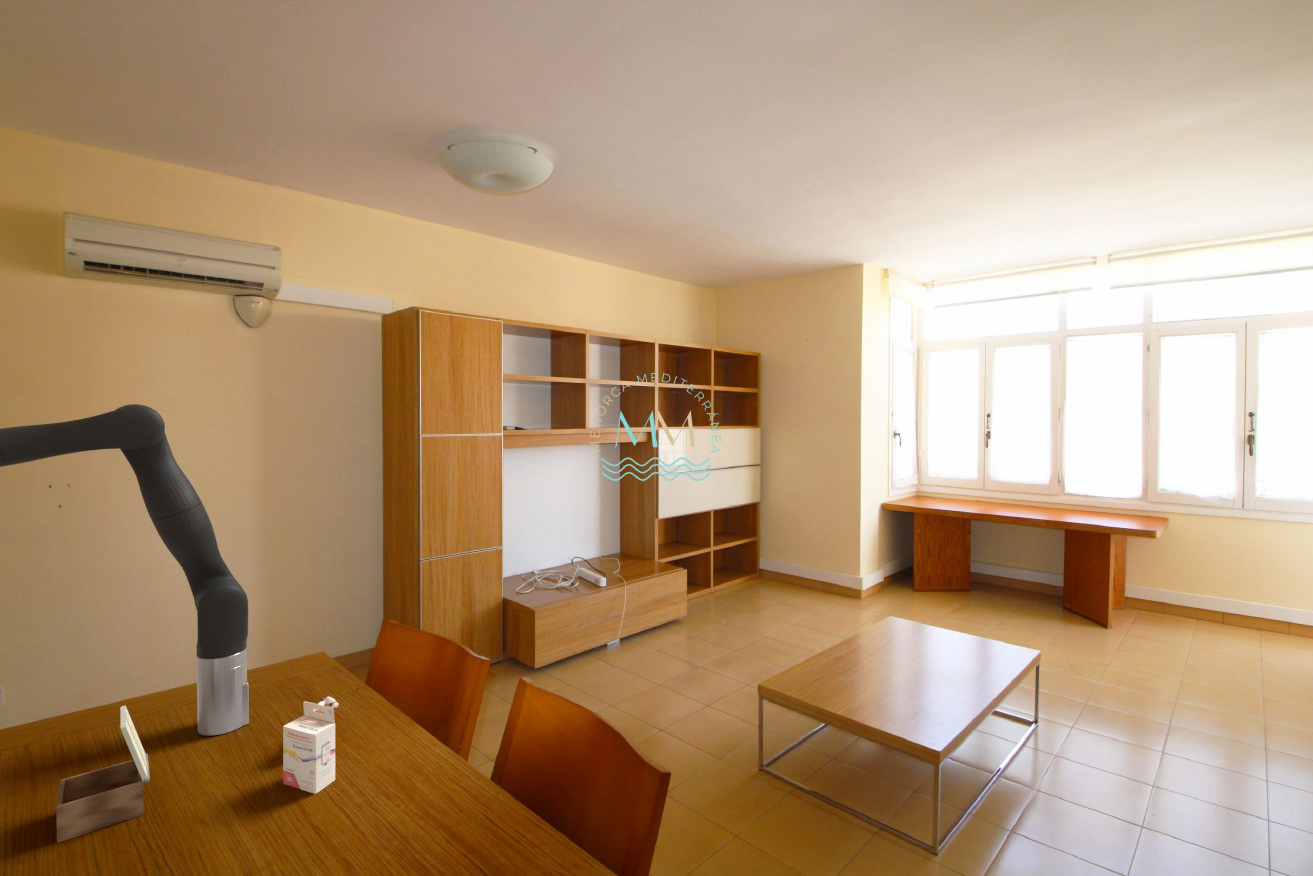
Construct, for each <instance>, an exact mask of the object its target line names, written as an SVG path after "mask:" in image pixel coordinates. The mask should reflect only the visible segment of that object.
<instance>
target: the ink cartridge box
mask: <svg viewBox="0 0 1313 876" xmlns="http://www.w3.org/2000/svg"><path fill="white" fill-rule="evenodd" d="M302 702H303V706H302V707H303V715H302V716H299V717H298V718H296V719H294V720H292V721H289V722H287V724H284V725H283V726H282V727H283V728H282V733H283V734H282V735H283V737H282V745H283V747H282V751H283V753H282V754H283V756H282V757H283V758H282V762H283V763H282V765H283V766H282V767H283V769H282V770H283V771H282V774H283V775H282V777H283V778H282V781H283V782H282V784H283V785H286V786H288V787H291V788H295V789H298V790H301V791H304V792H308V793H311V794H314V795H315V794H318V793H319V792H321V791H322V790H323V789H324V788H326V787H328V786H330V784H331V783H333V782H335V781H336V722H335V710H334V708H330V707H326V706H323V705H319V704H318V703H315V702H309V701H306V700H305V701H302ZM313 709H319V710H320V711H323V712H324V714H321V713H317V712H314V710H313Z"/></svg>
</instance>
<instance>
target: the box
mask: <svg viewBox="0 0 1313 876" xmlns="http://www.w3.org/2000/svg"><path fill="white" fill-rule="evenodd" d="M58 788H59V789H58V793H57V801H56V806H55V811H56V812H55V813H56V816H55V817H56V843H57V844H58V843H61V842H64V841H67V840H71V839H73V838H77V837H80V836H83V835H87V834H89V833H92V832H96V831H98V830H102V829H104V828H108V827H111V826H114V825H117V824H120V823H122V822H127V821H129V820H132V819H133V820H134V819H136V818H139V817H142V816H144V811H145V810H144V782H143V781H142V778H141V776H140V774H139V771H138V769H137V766H136V764H135V762H134V759H132V760H126V761H124V762H120V763H117V764H113V765H109V766H104V767H102V768H98V769H95V770H94V769H93V770H90V771H88V772H84V773H80V774H76V775H73V776H69V777H66V778H62V779H60V781H59V787H58Z"/></svg>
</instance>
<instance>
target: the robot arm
mask: <svg viewBox="0 0 1313 876" xmlns="http://www.w3.org/2000/svg"><path fill="white" fill-rule="evenodd" d="M165 424H166V423H165V420H164V418H163V417H162V416H161V414H160V413H159V412H158V411H157V410H155V409H153V408H152V407H150V406H147V405H145V404H139V403H133V404H132V403H130V404H126V405H122V406H120V407H118V408H116V409H114V410H112V411H108V412H104V413H100V414H97V415H96V414H95V415H93V416H89V417H84V418H80V419H74V420H69V421H68V420H67V421H62V422H52V423H40V424H30V425H28V424H27V425H22V426H21V425H20V426H19V425H18V426H12V427H11V426H10V427H9V426H8V427H3V428H0V468H3V467H7V466H13V465H14V466H15V465H19V464H24V463H30V462H35V461H38V460H44V459H48V458H53V457H58V456H63V455H67V454H69V455H70V454H75V453H83V452H88V451H89V452H90V451H99V450H114V449H115V450H117V449H119V450H120V451H121V452H122V454H123V455H124V457H125V459H126V460H127V462H128V463H129V465H130V468H131V469H132V470H133V472H134V474H135V477H136V480H137V483H138V487H139V490H140V493H141V496H142V500H143V503H144V505H145V508H146V511H147V513H148V516H149V518H150V520H151V522H152V525H154V528H155V530H156V532H157V534H158V536H159V538H160V539H161V541H162V543H163V544H164V545H165V546H166V549H167V550H168V551H169V552H170V554H171V556H173V558H174V559H175V560H176V562H177V563H178V565H179V566H180V567H181V569H182V570H183V573H184V574H185V577H186V580H187V583H188V585H189V588H190V591H191V594H192V597H193V602H194V605H195V609H196V611H197V612H196V616H197V639H196V640H197V642H196V695H197V696H196V699H197V701H196V702H197V704H196V705H197V709H196V711H197V713H196V714H197V715H196V716H197V720H196V722H197V723H196V725H197V733H198V734H199V735H202V736H208V737H209V736H210V737H211V736H218V735H224V734H226V733H230V732H233V731H236V730H238V729H239V728H241V727H243V726H246V725H249V724H250V709H249V707H250V705H249V704H250V703H249V700H250V699H249V697H250V696H249V695H250V694H249V692H250V691H249V687H250V684H249V682H248V678H247V677H248V672H247V671H248V670H247V669H248V668H247V667H248V665H247V658H248V657H247V656H248V655H247V654H248V653H247V640H248V637H249V599H248V595H247V592H246V590H244V589H243V587H242V585H241V583H239V582H238V580H236V578H235V576H234V575H233V574H232V572H231V571H230V568H229V567H228V566H227V563H226V562H225V560H224V559H223V557H222V554H221V552H220V550H219V545H218V542H217V538H216V534H215V531H214V528H213V524H212V521H211V519H210V517H209V515H208V513H207V510H206V508H205V506H204V504H203V502H202V499H201V498H200V496H199V494H198V492H197V491H196V489H195V487H194V486H193V484H192V483H191V481H190V480H189V479H188V477H187V476H186V474H185V473H184V471H183V470H182V468H181V467H180V466H179V464H178V462H177V460H176V458H175V457H174V454H173V452H172V449H171V446H170V444H169V441H168V438H167V435H166V432H165V430H166V429H165V428H166V425H165Z"/></svg>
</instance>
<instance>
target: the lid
mask: <svg viewBox="0 0 1313 876" xmlns="http://www.w3.org/2000/svg"><path fill="white" fill-rule="evenodd" d="M127 708H128V707H127V706H126V704H125V705H122V706H120V707H119V709H120V730H121V733H122V736H123V737H124V740H125V742H126V745H127V747H128V750H129V752H130V755H131V756H132V760H134V762H135V764H136V766H137V769H138V771H139V774H140V776H141V778H142V781H143V784H147V783H149V782H150V780H151V778H150V777H151V776H150V765H149V754H148V753H146V751H145V749H144V747H143V745H142V742H141V739H140V738H139V737H140V736H139V734H138V732H137V730H136V728H135V725H134V722H133V720H132V718H131V715H130V713H129V710H128V709H127Z"/></svg>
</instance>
